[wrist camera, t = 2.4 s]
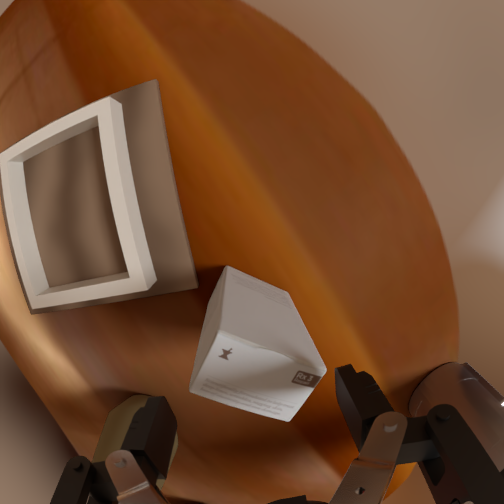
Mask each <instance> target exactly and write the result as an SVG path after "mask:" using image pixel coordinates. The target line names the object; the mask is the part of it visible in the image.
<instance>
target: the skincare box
mask: <svg viewBox="0 0 504 504" xmlns="http://www.w3.org/2000/svg"><path fill="white" fill-rule="evenodd" d="M326 370H327V369H326V367H325V365H324V363H323V361H322V359H321V357H320V355H319V353H318V351H317V349H316V347H315V345H314V343H313V341H312V339H311V337H310V335H309V333H308V331H307V329H306V327H305V325H304V323H303V321H302V319H301V317H300V315H299V313H298V311H297V309H296V308H295V306H294V304H293V302H292V300H291V298H290V296H289V294H288V292H286V291H284V290H281V289H279V288H277V287H275V286H272V285H270V284H268V283H266V282H263V281H261V280H259V279H256V278H254V277H252V276H250V275H247V274H245V273H243V272H241V271H239V270H236V269H234V268H232V267H230V266H225V268H224V270H223V272H222V274H221V276H220V278H219V280H218V283H217V285H216V287H215V289H214V291H213V293H212V296H211V298H210V300H209V303H208V306H207V311H206V315H205V319H204V323H203V328H202V332H201V336H200V340H199V345H198V349H197V353H196V358H195V362H194V369H193V372H192V376H191V380H190V385H189V391H190V392H191V393H194V394H197V395H200V396H202V397H205V398H208V399H211V400H214V401H217V402H220V403H223V404H226V405H229V406H233V407H236V408H239V409H242V410H246V411H249V412H253V413H256V414H260V415H264V416H267V417H271V418H275V419H279V420H283V421H287V422H289V421H290V420H291V419H292V418H293V416H294V415H295V414H296V412H297V411H298V410H299V409H300V407H301V406H302V405H303V403H304V402H305V401H306V399H307V398H308V396H309V395H310V394H311V392H312V391H313V389H314V388H315V387H316V385H317V384H318V382H319V381H320V380H321V378H322V377H323V375H324V374H325V373H326Z"/></svg>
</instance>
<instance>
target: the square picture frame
mask: <svg viewBox="0 0 504 504" xmlns="http://www.w3.org/2000/svg"><path fill="white" fill-rule="evenodd" d="M97 126H99V132H100V140H101V147H102V154H103V161H104V167H105V173H106V179H107V184H108V190H109V195H110V200H111V205H112V209H113V214H114V218H115V223H116V227H117V231H118V235H119V239H120V243H121V247H122V251H123V255H124V259H125V262H126V266H127V269H128V272H124V273H119V274H114V275H109V276H104V277H99V278H95V279H90V280H85V281H80V282H75V283H70V284H65V285H61V286H56V287H51V288H49V285H48V282H47V279H46V276H45V272H44V269H43V265H42V262H41V258H40V255H39V251H38V247H37V243H36V239H35V234H34V230H33V225H32V220H31V215H30V210H29V204H28V198H27V192H26V185H25V177H24V169H23V162H24V161H26V160H28V159H29V158H31V157H33V156H35V155H37V154H39V153H41V152H42V151H44V150H46V149H48V148H50V147H52V146H54V145H56V144H58V143H61V142H63V141H65V140H67V139H69V138H71V137H73V136H76V135H78V134H80V133H83V132H85V131H87V130H90V129H92V128H94V127H97ZM0 170H1V180H2V189H3V196H4V203H5V209H6V215H7V220H8V226H9V231H10V235H11V240H12V244H13V248H14V252H15V256H16V260H17V264H18V267H19V271H20V274H21V277H22V281H23V284H24V287H25V290H26V293H27V296H28V299H29V302H30V305H31V307H32V309H37V308H44V307H50V306H56V305H63V304H69V303H75V302H81V301H87V300H93V299H99V298H105V297H111V296H117V295H123V294H129V293H134V292H140V291H146V290H149V288H150V287H151V286H152V285H153V284H154V283H155V282H156V281H157V278H156V275H155V271H154V268H153V264H152V260H151V256H150V253H149V249H148V245H147V241H146V237H145V232H144V228H143V224H142V220H141V215H140V211H139V206H138V201H137V197H136V192H135V187H134V181H133V176H132V171H131V165H130V159H129V153H128V147H127V141H126V134H125V127H124V119H123V111H122V104H121V103H119V102H118V101H116V100H114V99H113V98H111V97H110V96H109V97H107V98H104V99H102V100H99V101H97V102H95V103H92V104H90V105H88V106H86V107H83V108H81V109H79V110H77V111H75V112H73V113H70V114H68V115H66V116H64V117H62V118H60V119H58V120H56V121H55V122H53V123H51V124H49V125H47V126H45V127H43V128H42V129H40V130H38V131H36V132H34V133H33V134H31V135H29V136H28V137H26V138H24V139H23V140H21V141H19V142H18V143H16V144H15V145H13V146H11V147H10V148H8V149H7V150H5V151H4V152H2V153H1V154H0Z"/></svg>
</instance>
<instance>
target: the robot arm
mask: <svg viewBox="0 0 504 504" xmlns="http://www.w3.org/2000/svg"><path fill="white" fill-rule="evenodd" d="M335 384H336V396H337V400H338V404H339V406H340V408H341V411H342V413H343V415H344V418H345V420H346V422H347V425H348V427H349V430H350V432H351V434H352V437H353V439H354V442H355V444H356V446H357V449H358V451H359V453H360V454H359V456H358V457H357V459H354V460H353V461H352V463H351V465H350V467H349V469H348V471H347V473H346V474H345V476H344V478H343V480H342V482H341V484H340V485H339V487H338V489H337V491H336V492H335V494H334V496H333V497H332V499H331V501H330V502H329V503H326V502H321V501H307V500H306V495H302V496H297V497H292V498H286V499H280V500H276V501H274V502H271V503H268V504H381V502H382V500H383V497H384V495H385V493H386V490H387V488H388V486H389V483H390V481H391V478H392V476H393V473H394V470H395V468H396V465H398V464H405V463H412V462H417V463H418V465H419V467H420V469H421V471H422V473H423V475H424V478H425V479H426V482H427V484H428V486H429V489H430V491H431V493H432V495H433V498H434V500H435V502H436V504H504V397H503V396H502V395H501V394H500V393H499V392H498V391H497V390H496V389H495V388H494V387H493V386H491V385H490V383H488V382H487V381H486V380H485V379H484V378H483V377H482V376H481V375H480V374H479V373H478V372H477V371H476V370H474V369H473V368H472V367H471V366H470V365H469V364H468V363H464V364H459V363H448V364H445V365H443V366H440V367H439V368H437V369H436V370H434V371H433V372H432V373H430V374H429V375H428V376H427V377H426V378H425V379H424V380H423V381H422V382H421V383H420V384H419V386H418V387H417V388H416V390H415V391H414V393H413V395H412V397H411V399H410V402H409V412H410V414H411V415H412V418H408V417H405V416H404V415H403V414H401V413H398V412H395V411H394V410H393V408H392V407H391V405H390V403H389V402H388V400H387V399H386V397H385V396H384V394H383V392H382V391H381V390H380V388H379V386H378V385H377V383H376V381H375V380H374V378H373V377H372V376H371V375H370V374H368V373H366V372H365V371H362V372H359V373H356V371H355V370H354V368H353V366H352V365H351V364H348V365H345V366H341V367H338V368H335ZM176 431H177V421H176V418H175V416H174V414H173V412H172V410H171V408H170V406H169V404H168V402H167V400H166V398H165V397H164V396H157V397H148V399H147V401H146V404H145V406H144V407H140V408H139V409H138V410H137V412H136V413H135V414H134V416H133V418H132V421H131V423H130V425H129V429H128V430H127V433H126V435H125V438H124V440H123V443H122V446H121V448H120V450H117V451H114V452H112V453H111V454H110V455H109V456H108V457H107V458H106V461H101V462H94V463H91V462H90V461H89V460H88V459H87V458H86V457H84V456H76V457H73V458H72V459H70V460H69V461H68V462H67V464H66V466H65V468H64V471H63V473H62V475H61V478H60V480H59V483H58V485H57V488H56V490H55V493H54V495H53V497H52V500H51V502H50V504H86V502H87V498H88V495H90V497H89V500H88V503H87V504H118V503H119V504H170V503H169V501H168V500H167V499H166V497H165V496H164V495H163V493H162V492H161V490H160V489H159V487H158V486H157V485H156V483H157V479H165V480H166V477H167V473H168V468H169V463H170V459H171V454H172V449H173V445H174V440H175V436H176Z"/></svg>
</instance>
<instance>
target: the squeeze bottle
mask: <svg viewBox="0 0 504 504" xmlns="http://www.w3.org/2000/svg"><path fill="white" fill-rule="evenodd" d="M148 397H151V396H147V395H133V396H131V397H130V398H128V399H127V400H125V401H124V402H122V403H121V404H120V405H118V406H117V407H116V408H114V409H113V410H111V411H110V412H109V414H108V417H107V419H106V422H105V425H104V427H103V430H102V433H101V436H100V439H99V442H98V445H97V448H96V451H95V454H94V457H93V460H92V463H94V462H101V461H106V458H107V457H108V456H109V455H110V454H111V453H112V452H114V451H117V450H120V448H121V446H122V443H123V440H124V438H125V435H126V433H127V430H128V429H129V425H130V423H131V421H132V418H133V416H134V414H135V413H136V412H137V410H138V409H139V408H140V407H144V406H145V404H146V401H147V399H148ZM177 447H178V435H177V431H176V436H175V440H174V445H173V449H172V454H171V459H170V463H169V468H170V466H171V463H172V460H173V458H174V455H175V453H176V450H177ZM169 468H168V471H169ZM164 481H165V479H157V483H156V485H157V486H158V487H159V489H160V490H161V489H162V487H163V484H164ZM118 504H119V503H118Z"/></svg>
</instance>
